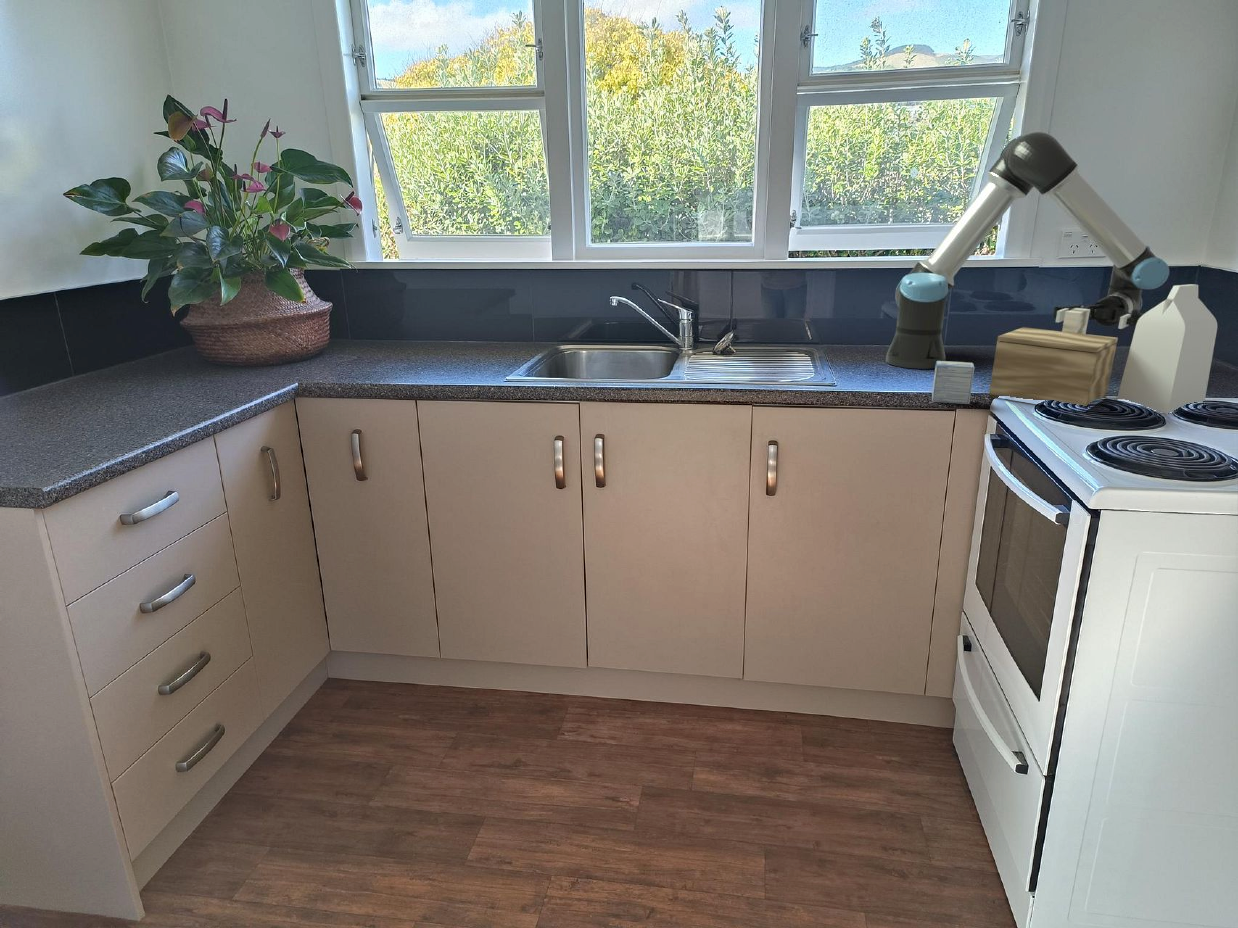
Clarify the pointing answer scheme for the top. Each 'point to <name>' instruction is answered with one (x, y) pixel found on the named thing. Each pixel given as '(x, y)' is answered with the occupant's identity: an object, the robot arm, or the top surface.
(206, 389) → the top surface
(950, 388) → the grey wooden block
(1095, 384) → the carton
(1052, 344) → the lid
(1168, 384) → the milk
